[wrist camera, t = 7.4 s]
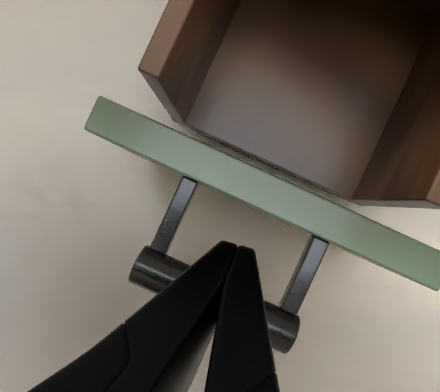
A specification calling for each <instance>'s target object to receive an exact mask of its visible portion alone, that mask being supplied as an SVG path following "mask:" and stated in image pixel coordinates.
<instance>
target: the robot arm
mask: <svg viewBox="0 0 440 392" xmlns="http://www.w3.org/2000/svg"><path fill="white" fill-rule="evenodd" d="M214 331H215V334H214V339H213V345H212V351H211V356H210V362H209V368H208V373H207V379H206V385H205V390H204V392H280V390H279V384H278V379H277V374H276V373H275V372H276V368H275V363H274V357H273V351H272V346H271V340H270V334H269V328H268V323H267V317H266V311H265V306H264V300H263V294H262V289H261V283H260V277H259V272H258V266H257V260H256V254H255V251H254V249H252V248H248V247H245V246H238V248H237V245H236V244H234V243H230V242H227V241H221V242H219V243H218V244H217V245H216V246H215V247H213V248H212V249H211V250H210V251H209V252H207V253H206V254H205V255H204V256H203V257H201V258H200V259H199V260H198V261H197V262H195V263H194V264H193V265H192V266H191V267H189V268H188V269H187V270H186V271H185V272H183V273H182V274H181V275H180V276H179V277H177V278H176V279H175V280H174V281H173V282H171V283H170V284H169V285H168V286H167V287H165V288H164V289H163V290H162V291H161V292H159V293H158V294H157V295H156V296H155V297H153V298H152V299H151V300H150V301H149V302H147V303H146V304H145V305H144V306H143V307H141V308H140V309H139V310H138V311H137V312H135V313H134V314H133V315H132V316H131V317H130V318H128V319H127V320H126V321H125V324H124V323H122V324H121V325H120V326H118V327H117V328H116V329H115V330H114V331H113V332H111V333H110V334H109V335H108V336H106V337H105V338H104V339H103V340H101V341H100V342H99V343H97V344H96V345H95V346H94V347H92V348H91V349H90V350H88V351H87V352H86V353H84V354H83V355H81V356H80V357H78V358H77V359H76V360H74V361H73V362H71V363H70V364H68V365H67V366H65V367H64V368H62V369H61V370H59V371H58V372H56V373H55V374H53V375H52V376H50V377H49V378H47V379H46V380H44V381H43V382H41V383H40V384H38V385H37V386H35V387H34V388H32V389H31V390H29V391H28V392H188V389H189V387H190V385H191V383H192V380H193V378H194V376H195V374H196V372H197V369H198V367H199V365H200V363H201V360H202V358H203V356H204V354H205V352H206V349H207V347H208V345H209V343H210V340H211V338H212V336H213V333H214Z"/></svg>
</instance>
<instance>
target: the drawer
mask: <svg viewBox="0 0 440 392" xmlns="http://www.w3.org/2000/svg"><path fill="white" fill-rule="evenodd" d="M138 70H139V71H140V73H141V74H142V75H143V77H144V78H145V80H146V81H147V83H148V84H149V86H150V87H151V89H152V90H153V91H154V93H155V94H156V96H157V97H158V99H159V100H160V102H161V103H162V104H163V106H164V107H165V109H166V110H167V112H168V113H169V115H170V116H171V118H172V120H173V121H175V122H177V123H180V124H182V125H184V126H186V127H188V128H191V129H193V130H195V131H197V132H199V133H202V134H204V135H206V136H208V137H210V138H213V139H215V140H217V141H219V142H221V143H223V144H226V145H228V146H230V147H232V148H234V149H237V150H239V151H241V152H243V153H245V154H248V155H250V156H252V157H254V158H256V159H259V160H261V161H263V162H265V163H267V164H269V165H272V166H274V167H276V168H278V169H280V170H283V171H285V172H287V173H289V174H291V175H294V176H296V177H298V178H300V179H302V180H305V181H307V182H309V183H311V184H313V185H316V186H318V187H320V188H322V189H324V190H326V191H329V192H331V193H333V194H335V195H337V196H340V197H342V198H344V199H346V200H348V201H351V202H353V203H355V204H357V205H359V206H386V207H409V208H432V209H440V0H169V1H168V3H167V6H166V8H165V10H164V12H163V14H162V16H161V19H160V21H159V23H158V25H157V27H156V30H155V32H154V34H153V36H152V38H151V40H150V43H149V45H148V47H147V49H146V51H145V53H144V56H143V58H142V60H141V62H140V64H139V66H138ZM84 129H85V130H87V131H89V132H91V133H93V134H95V135H97V136H99V137H101V138H103V139H105V140H107V141H109V142H111V143H113V144H115V145H117V146H119V147H121V148H123V149H126V150H128V151H130V152H132V153H134V154H136V155H138V156H140V157H142V158H144V159H146V160H148V161H150V162H153V163H155V164H157V165H159V166H161V167H164V168H166V169H168V170H170V171H172V172H174V173H177V174H179V175H181V176H183V177H182V179H181V181H180V183H179V185H178V187H177V189H176V192H175V194H174V196H173V198H172V200H171V203H170V205H169V207H168V209H167V211H166V213H165V216H164V218H163V220H162V222H161V224H160V226H159V229H158V231H157V233H156V235H155V237H154V240H153V242H152V244H151V246H148V245H146V246H145V247H144V248H143V249H142V251H141V252H140V254H139V255H138V257H137V259H136V261H135V263H134V265H133V267H132V270H131V272H130V275H129V282H131V283H133V284H135V285H138V286H140V287H142V288H144V289H146V290H148V291H150V292H152V293H155V294H158V293H159V292H161V291H162V290H163V289H164V288H165V287H167V286H168V285H169V284H170V283H171V282H173V281H174V280H175V279H176V278H177V277H179V276H180V275H181V274H182V273H183V272H185V271H186V270H187V269H188V268H189V267H191V265H189V264H187V263H184V262H182V261H180V260H178V259H176V258H174V257H172V256H169V255H167V254H166V253H167V252H168V251H169V248H170V246H171V244H172V242H173V240H174V238H175V235H176V233H177V231H178V229H179V227H180V224H181V222H182V220H183V218H184V216H185V214H186V211H187V209H188V207H189V205H190V203H191V201H192V198H193V196H194V194H195V192H196V190H197V187H198V185H199V184H201V185H203V186H205V187H207V188H209V189H211V190H214V191H216V192H218V193H220V194H222V195H224V196H227V197H229V198H231V199H233V200H235V201H237V202H240V203H242V204H244V205H246V206H248V207H251V208H253V209H255V210H257V211H259V212H261V213H264V214H266V215H268V216H270V217H272V218H274V219H277V220H279V221H281V222H283V223H285V224H288V225H290V226H292V227H294V228H296V229H298V230H301V231H303V232H305V233H307V234H309V235H311V236H310V238H309V240H308V242H307V244H306V247H305V249H304V251H303V253H302V255H301V257H300V260H299V262H298V264H297V266H296V268H295V270H294V273H293V275H292V277H291V279H290V281H289V284H288V286H287V288H286V290H285V292H284V294H283V297H282V299H281V301H280V303H279V305H280V307H279V306H277V305H275V304H273V303H270V302H268V301H266V300H264V299H263V300H264V306H265V311H266V317H267V323H268V328H269V334H270V340H271V346H272V349H274V350H276V351H279V352H281V353H283V354H286V353H287V352H288V351H289V350H290V349H291V348H292V346H293V344H294V342H295V340H296V337H297V335H298V331H299V327H300V317H299V316H298V315H297V313H298V311H299V309H300V306H301V304H302V302H303V300H304V298H305V296H306V293H307V291H308V289H309V287H310V285H311V283H312V280H313V278H314V276H315V274H316V272H317V269H318V267H319V265H320V263H321V261H322V259H323V256H324V254H325V252H326V250H327V248H328V246H329V244H331V245H333V246H335V247H338V248H340V249H342V250H344V251H346V252H348V253H351V254H353V255H355V256H357V257H360V258H362V259H364V260H367V261H369V262H371V263H373V264H376V265H378V266H380V267H383V268H385V269H387V270H389V271H392V272H394V273H396V274H398V275H401V276H403V277H405V278H408V279H410V280H412V281H414V282H417V283H419V284H421V285H423V286H426V287H428V288H430V289H433V290H435V291H438V290H439V289H440V251H439V250H437V249H435V248H432V247H430V246H428V245H426V244H424V243H421V242H419V241H417V240H415V239H413V238H411V237H408V236H406V235H404V234H402V233H400V232H397V231H395V230H393V229H391V228H389V227H386V226H384V225H382V224H380V223H378V222H375V221H373V220H371V219H369V218H367V217H365V216H362V215H360V214H358V213H356V212H354V211H351V210H349V209H347V208H345V207H343V206H340V205H338V204H336V203H334V202H332V201H330V200H327V199H325V198H323V197H321V196H319V195H316V194H314V193H312V192H310V191H308V190H305V189H303V188H301V187H299V186H297V185H295V184H292V183H290V182H288V181H286V180H284V179H281V178H279V177H277V176H275V175H273V174H270V173H268V172H266V171H264V170H262V169H259V168H257V167H255V166H253V165H251V164H249V163H246V162H244V161H242V160H240V159H238V158H235V157H233V156H231V155H229V154H227V153H224V152H222V151H220V150H218V149H216V148H214V147H211V146H209V145H207V144H205V143H203V142H200V141H198V140H196V139H194V138H192V137H189V136H187V135H185V134H183V133H181V132H179V131H176V130H174V129H172V128H170V127H168V126H165V125H163V124H161V123H159V122H157V121H154V120H152V119H150V118H148V117H146V116H143V115H141V114H139V113H137V112H135V111H133V110H130V109H128V108H126V107H124V106H122V105H119V104H117V103H115V102H113V101H111V100H108V99H106V98H104V97H102V96H99V97H98V98H97V101H96V103H95V105H94V107H93V109H92V112H91V114H90V116H89V118H88V120H87V122H86V125H85V127H84Z"/></svg>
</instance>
